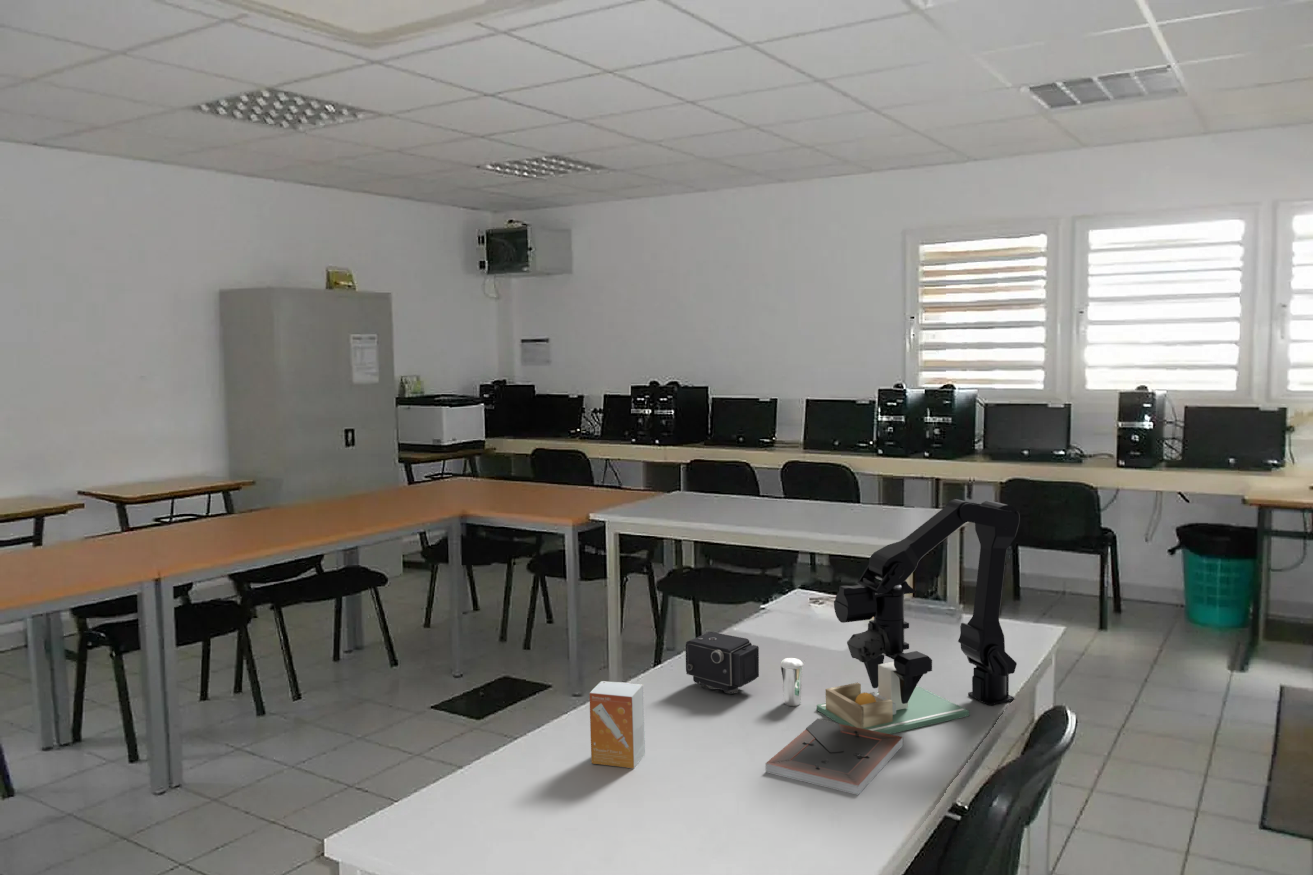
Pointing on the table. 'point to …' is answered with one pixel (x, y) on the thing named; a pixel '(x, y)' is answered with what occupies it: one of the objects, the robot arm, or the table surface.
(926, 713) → the board
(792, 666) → the milkshake
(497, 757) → the table surface
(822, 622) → the table surface
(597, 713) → the small box
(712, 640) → the camera
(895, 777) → the table surface
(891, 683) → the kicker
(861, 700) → the ball
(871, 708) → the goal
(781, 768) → the book
